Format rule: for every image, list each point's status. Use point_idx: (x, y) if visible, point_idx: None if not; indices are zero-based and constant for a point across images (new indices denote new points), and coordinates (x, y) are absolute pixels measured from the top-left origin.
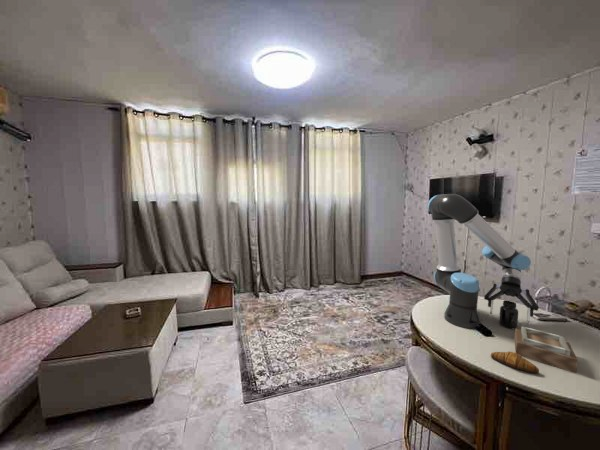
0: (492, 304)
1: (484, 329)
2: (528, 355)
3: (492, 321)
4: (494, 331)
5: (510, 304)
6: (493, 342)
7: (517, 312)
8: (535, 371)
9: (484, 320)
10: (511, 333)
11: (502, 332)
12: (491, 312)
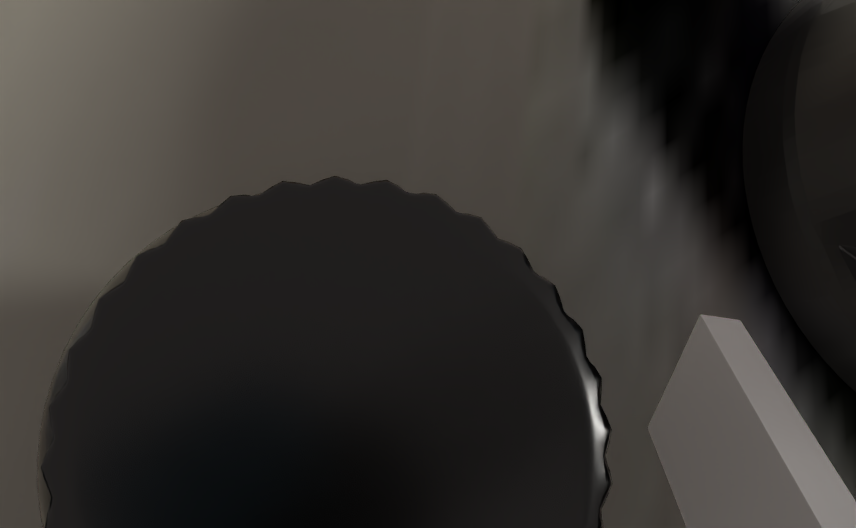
0: (818, 501)
1: (676, 50)
2: None
3: None
4: (546, 54)
5: (351, 190)
6: None
7: (105, 287)
8: None
9: None
10: (303, 116)
11: (435, 80)
12: (702, 342)
